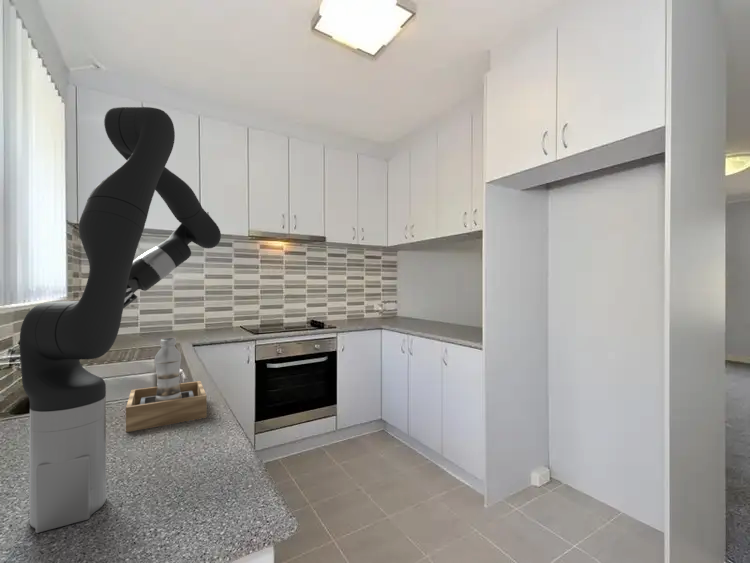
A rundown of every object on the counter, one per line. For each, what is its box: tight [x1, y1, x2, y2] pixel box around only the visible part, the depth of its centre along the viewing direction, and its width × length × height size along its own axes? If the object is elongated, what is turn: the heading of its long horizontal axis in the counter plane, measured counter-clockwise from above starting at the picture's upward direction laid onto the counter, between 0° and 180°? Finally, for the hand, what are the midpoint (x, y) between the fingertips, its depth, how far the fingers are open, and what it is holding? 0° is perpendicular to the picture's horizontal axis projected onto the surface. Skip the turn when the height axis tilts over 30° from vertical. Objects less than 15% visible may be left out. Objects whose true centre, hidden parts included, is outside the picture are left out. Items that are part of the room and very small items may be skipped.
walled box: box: [125, 380, 208, 433], centre depth 100 cm, size 18×18×6 cm
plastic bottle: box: [154, 337, 182, 402], centre depth 100 cm, size 6×7×20 cm
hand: (87, 312), depth 81 cm, fingers open, 8 cm apart
